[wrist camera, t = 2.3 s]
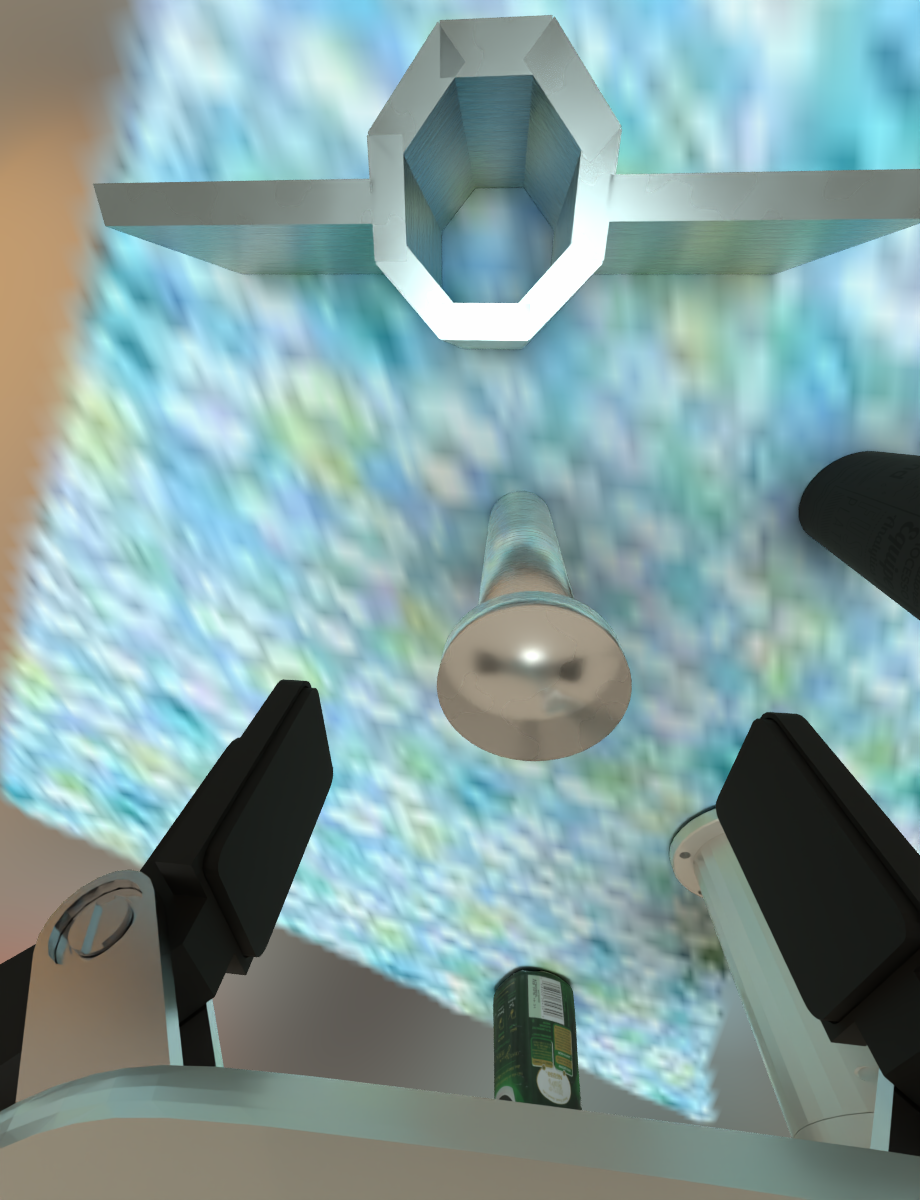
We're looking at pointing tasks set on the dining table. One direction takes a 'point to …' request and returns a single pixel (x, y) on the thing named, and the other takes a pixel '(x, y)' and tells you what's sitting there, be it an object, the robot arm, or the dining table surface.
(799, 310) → the dining table surface
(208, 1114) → the robot arm
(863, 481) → the drinking cup
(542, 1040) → the coffee jar
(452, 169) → the hinge
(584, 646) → the hinge pin
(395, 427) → the dining table surface
